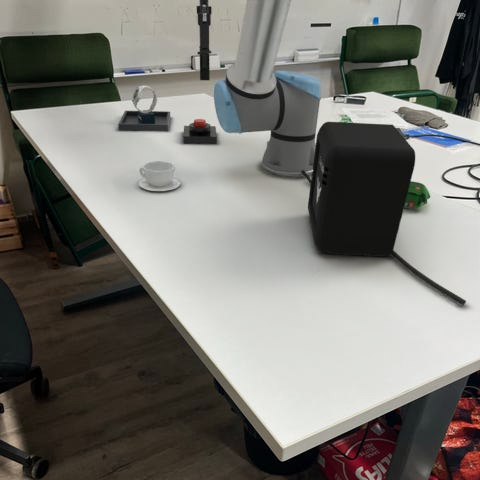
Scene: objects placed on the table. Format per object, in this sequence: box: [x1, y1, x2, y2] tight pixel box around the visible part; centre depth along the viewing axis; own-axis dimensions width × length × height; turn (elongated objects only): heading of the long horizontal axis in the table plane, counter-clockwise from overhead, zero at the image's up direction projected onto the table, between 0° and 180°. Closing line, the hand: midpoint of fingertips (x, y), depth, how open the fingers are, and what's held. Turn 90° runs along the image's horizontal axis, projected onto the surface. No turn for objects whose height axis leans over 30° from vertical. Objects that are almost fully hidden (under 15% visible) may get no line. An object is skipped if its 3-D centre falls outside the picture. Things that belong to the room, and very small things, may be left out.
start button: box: [193, 118, 207, 127], centre depth 146 cm, size 4×4×2 cm
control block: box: [182, 122, 218, 145], centre depth 148 cm, size 12×10×4 cm
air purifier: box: [307, 121, 416, 258], centre depth 92 cm, size 20×15×20 cm
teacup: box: [138, 160, 181, 192], centre depth 115 cm, size 10×10×5 cm
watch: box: [131, 85, 158, 124], centre depth 157 cm, size 6×8×11 cm
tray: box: [117, 110, 171, 132], centre depth 160 cm, size 18×16×2 cm
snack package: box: [404, 180, 431, 210], centre depth 111 cm, size 7×16×5 cm, turn 68°
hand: (204, 79), depth 138 cm, fingers closed
